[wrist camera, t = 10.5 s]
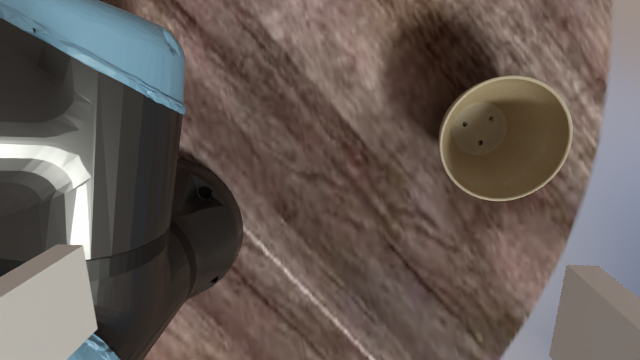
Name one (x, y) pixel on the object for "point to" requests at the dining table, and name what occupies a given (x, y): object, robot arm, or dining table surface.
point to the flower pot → (505, 137)
